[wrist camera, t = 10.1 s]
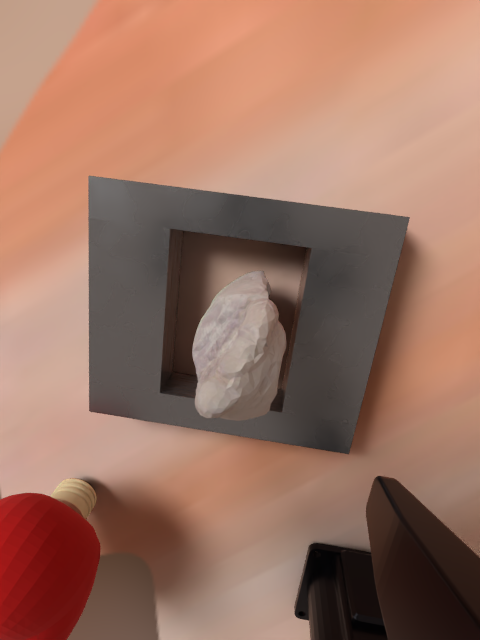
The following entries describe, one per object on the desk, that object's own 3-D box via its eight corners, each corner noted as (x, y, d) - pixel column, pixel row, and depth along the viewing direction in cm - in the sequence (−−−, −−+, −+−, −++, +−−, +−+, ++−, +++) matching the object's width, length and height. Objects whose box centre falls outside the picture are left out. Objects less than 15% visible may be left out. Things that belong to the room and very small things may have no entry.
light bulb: (131, 547, 26) (48, 743, 17) (36, 529, 26) (-99, 711, 17) (137, 435, 23) (40, 596, 14) (30, 417, 24) (-137, 561, 14)
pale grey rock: (273, 364, 21) (270, 499, 11) (212, 357, 21) (159, 483, 12) (286, 262, 19) (295, 320, 10) (219, 255, 19) (163, 306, 10)
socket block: (340, 426, 22) (348, 454, 19) (109, 389, 22) (89, 411, 20) (391, 215, 18) (409, 217, 16) (112, 179, 19) (88, 175, 16)
